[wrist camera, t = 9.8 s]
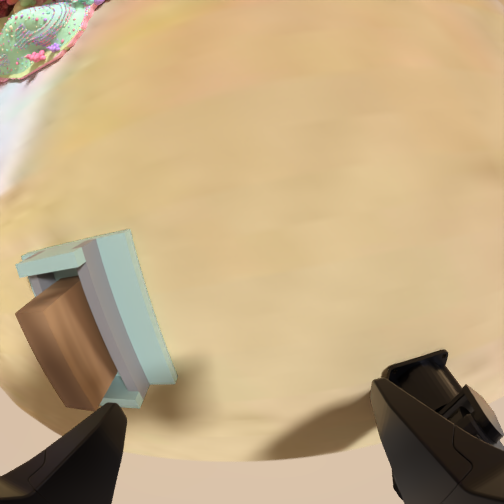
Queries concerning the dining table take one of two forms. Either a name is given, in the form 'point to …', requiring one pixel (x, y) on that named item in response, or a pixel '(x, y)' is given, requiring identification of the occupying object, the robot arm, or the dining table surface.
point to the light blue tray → (111, 308)
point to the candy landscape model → (39, 32)
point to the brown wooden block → (68, 344)
